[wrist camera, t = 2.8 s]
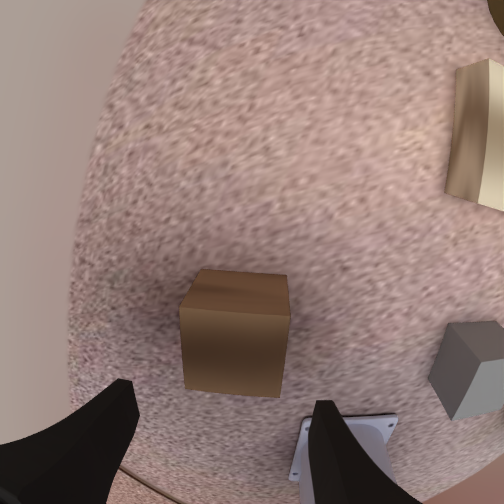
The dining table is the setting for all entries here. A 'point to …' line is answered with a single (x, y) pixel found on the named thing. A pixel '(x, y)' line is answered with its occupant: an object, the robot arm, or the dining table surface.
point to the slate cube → (470, 369)
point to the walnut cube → (235, 333)
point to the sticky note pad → (478, 135)
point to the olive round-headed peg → (497, 13)
